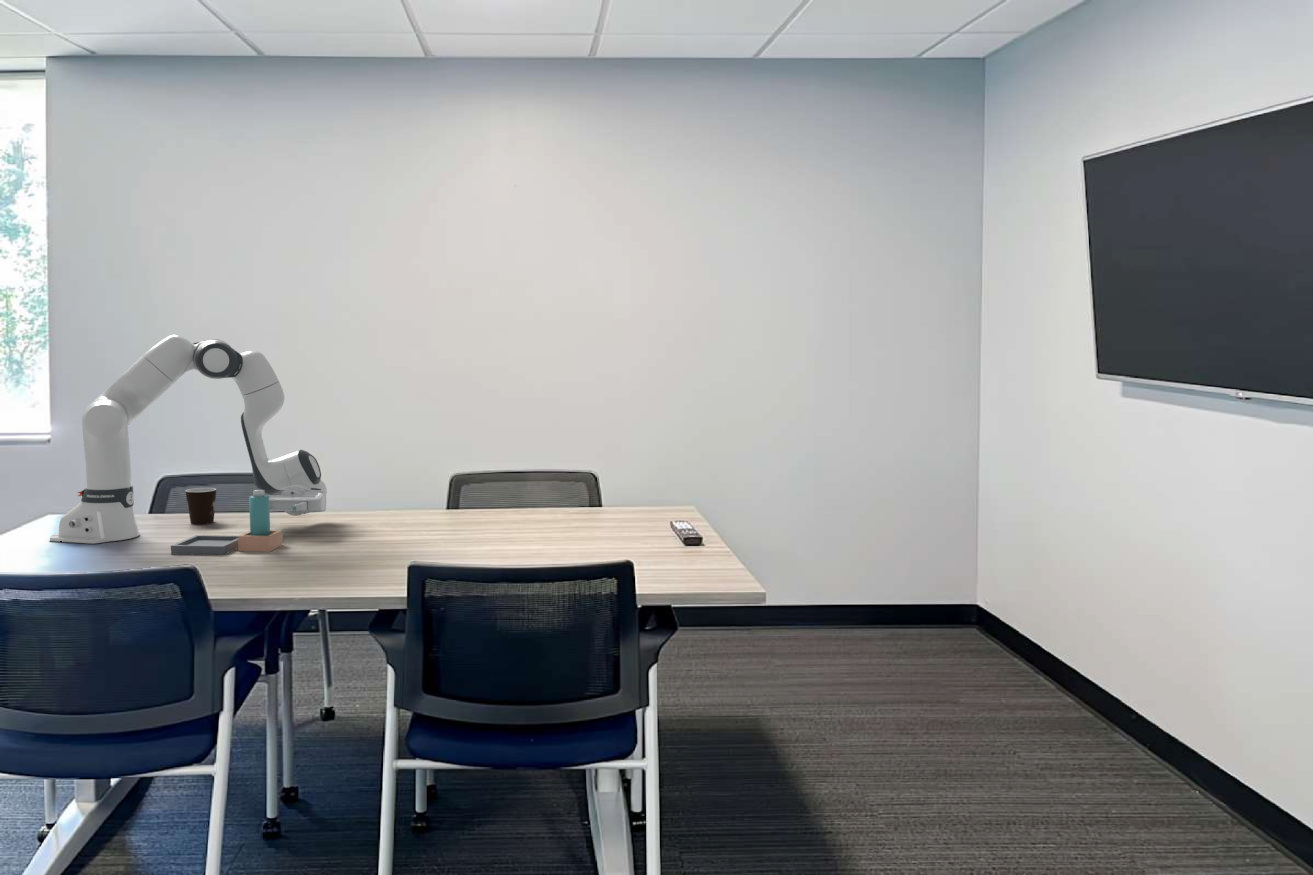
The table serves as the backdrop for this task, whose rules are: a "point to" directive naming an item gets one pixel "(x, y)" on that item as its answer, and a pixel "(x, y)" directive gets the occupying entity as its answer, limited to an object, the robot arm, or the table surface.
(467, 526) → the table surface
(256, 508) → the bottle
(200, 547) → the tray
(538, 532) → the table surface
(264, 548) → the orange open box
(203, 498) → the coffee mug
